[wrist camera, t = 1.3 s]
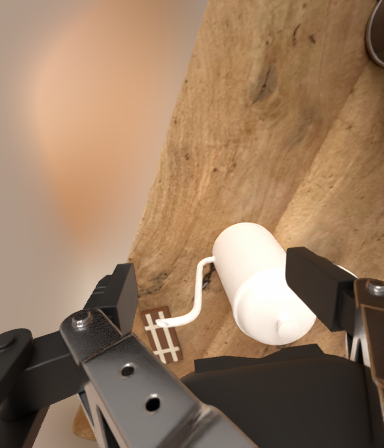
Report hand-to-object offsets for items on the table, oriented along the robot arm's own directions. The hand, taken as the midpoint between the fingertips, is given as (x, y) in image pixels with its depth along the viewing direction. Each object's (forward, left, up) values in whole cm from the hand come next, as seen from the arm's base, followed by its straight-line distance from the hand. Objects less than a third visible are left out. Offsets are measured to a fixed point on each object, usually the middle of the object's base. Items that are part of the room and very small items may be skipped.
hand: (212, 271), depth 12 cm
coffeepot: (+12, +5, -26) cm, 29 cm away
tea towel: (+26, -12, -26) cm, 38 cm away
